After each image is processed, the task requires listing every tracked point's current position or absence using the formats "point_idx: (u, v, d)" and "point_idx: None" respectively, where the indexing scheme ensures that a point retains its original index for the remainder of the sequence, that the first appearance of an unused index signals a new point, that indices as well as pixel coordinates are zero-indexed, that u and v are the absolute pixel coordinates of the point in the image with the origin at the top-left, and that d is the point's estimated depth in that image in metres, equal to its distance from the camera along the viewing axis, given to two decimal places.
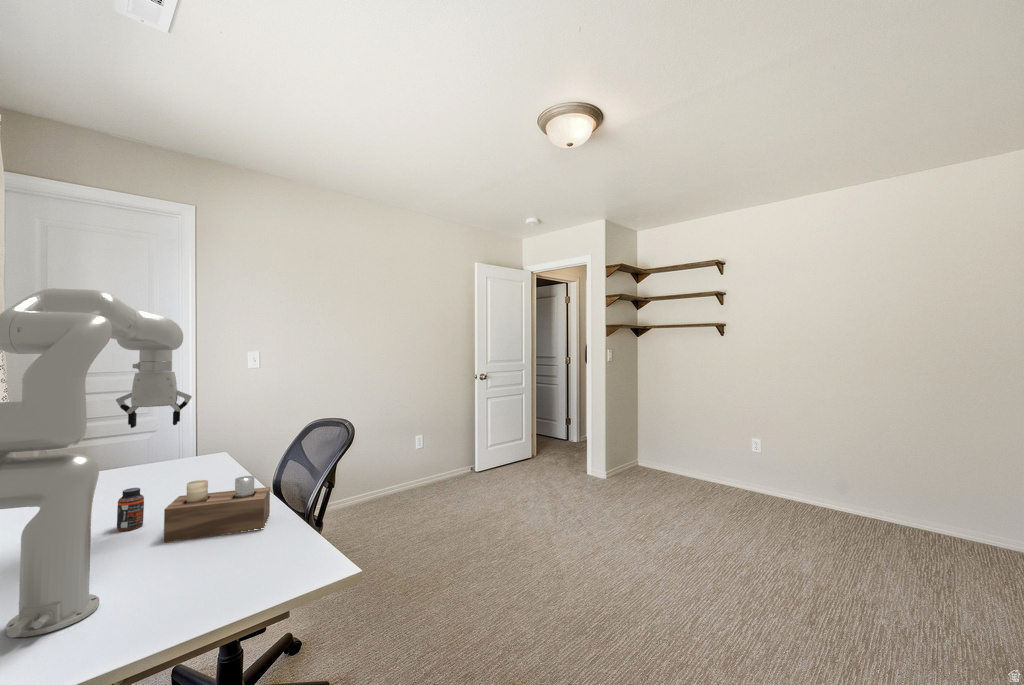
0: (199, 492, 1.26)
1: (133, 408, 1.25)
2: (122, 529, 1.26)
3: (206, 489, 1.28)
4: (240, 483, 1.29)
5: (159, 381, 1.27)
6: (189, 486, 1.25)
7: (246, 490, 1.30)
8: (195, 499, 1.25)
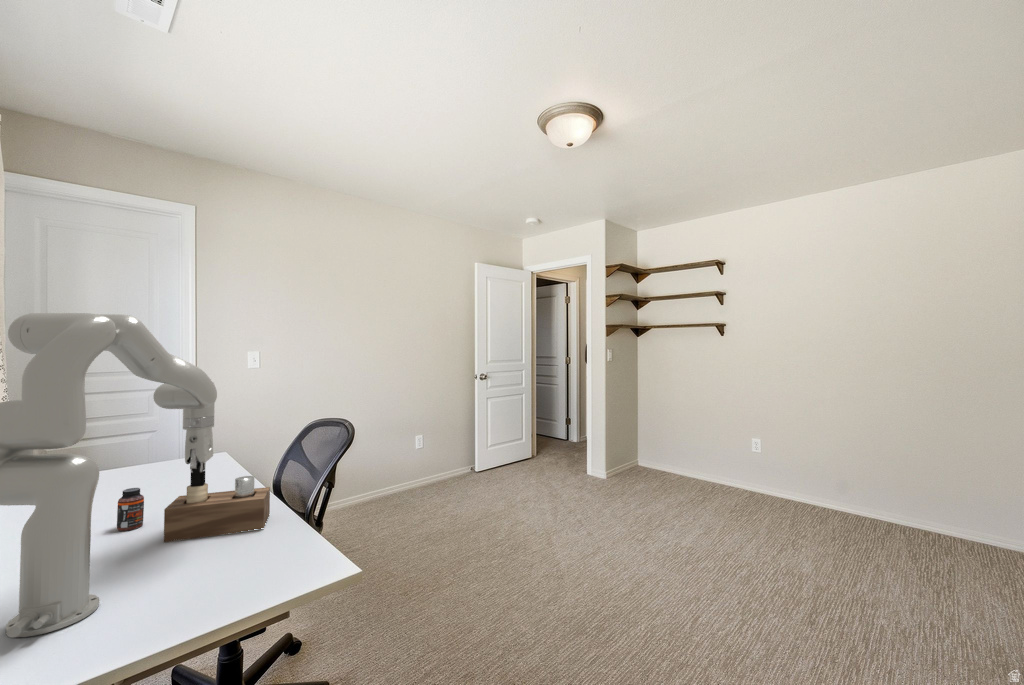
0: (199, 495, 1.26)
1: (202, 465, 1.27)
2: (122, 529, 1.26)
3: (206, 492, 1.28)
4: (240, 483, 1.29)
5: (211, 434, 1.30)
6: (189, 489, 1.25)
7: (246, 490, 1.30)
8: (195, 502, 1.25)
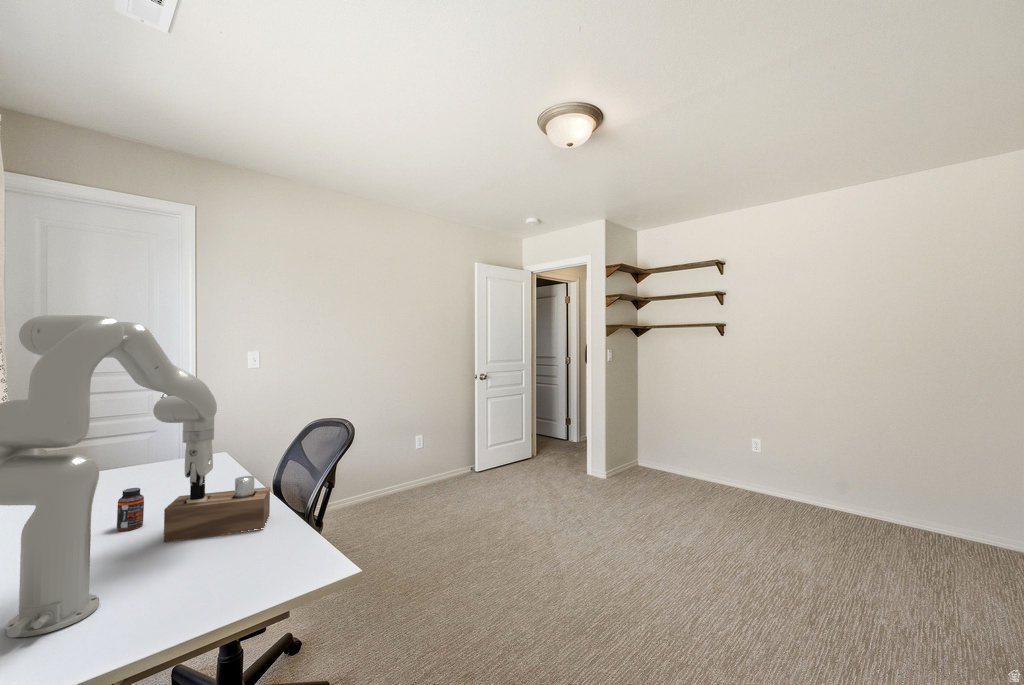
0: None
1: (202, 479, 1.27)
2: (122, 529, 1.26)
3: None
4: (240, 483, 1.29)
5: (210, 447, 1.30)
6: None
7: (246, 490, 1.30)
8: None
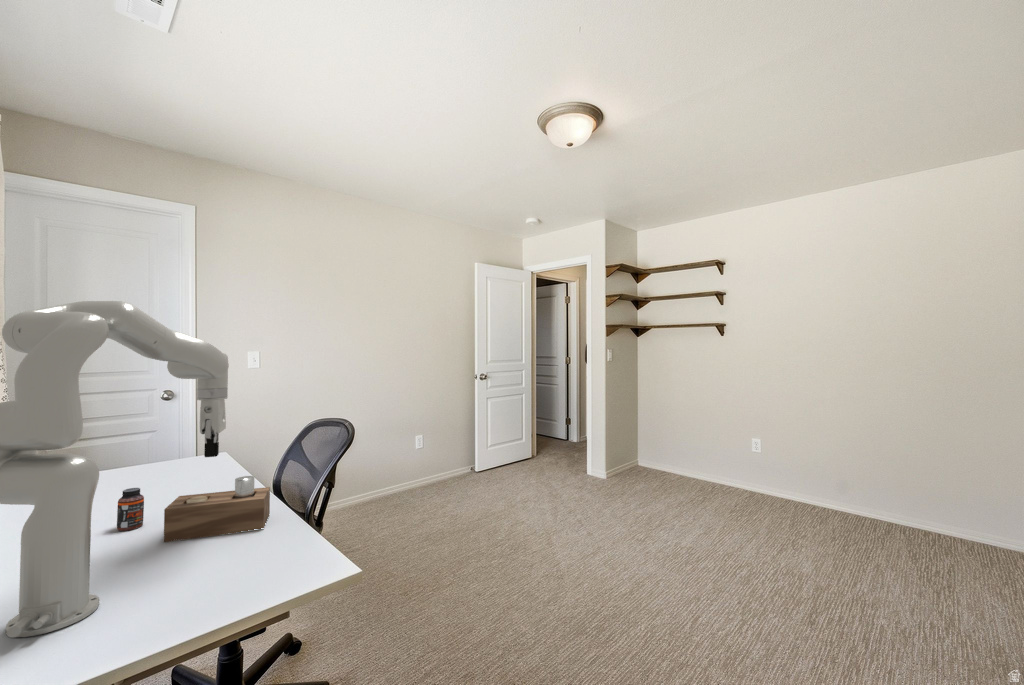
0: None
1: (216, 436, 1.29)
2: (122, 529, 1.26)
3: None
4: (240, 483, 1.29)
5: (224, 406, 1.32)
6: None
7: (246, 490, 1.30)
8: None
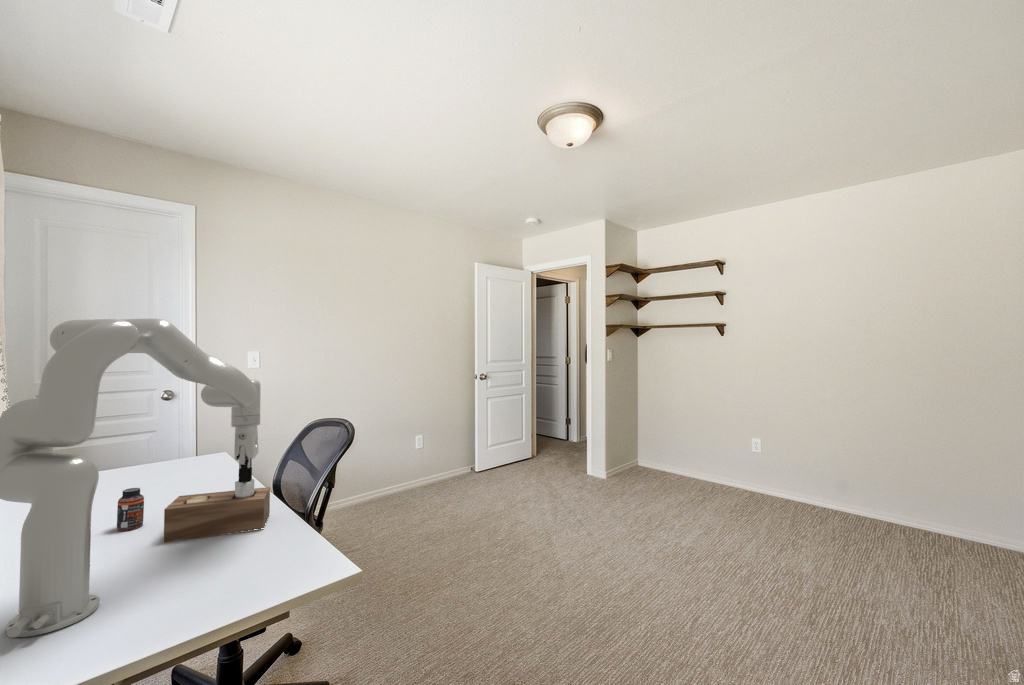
0: None
1: (249, 462, 1.32)
2: (122, 529, 1.26)
3: None
4: (240, 486, 1.29)
5: (257, 432, 1.35)
6: None
7: (246, 493, 1.30)
8: None
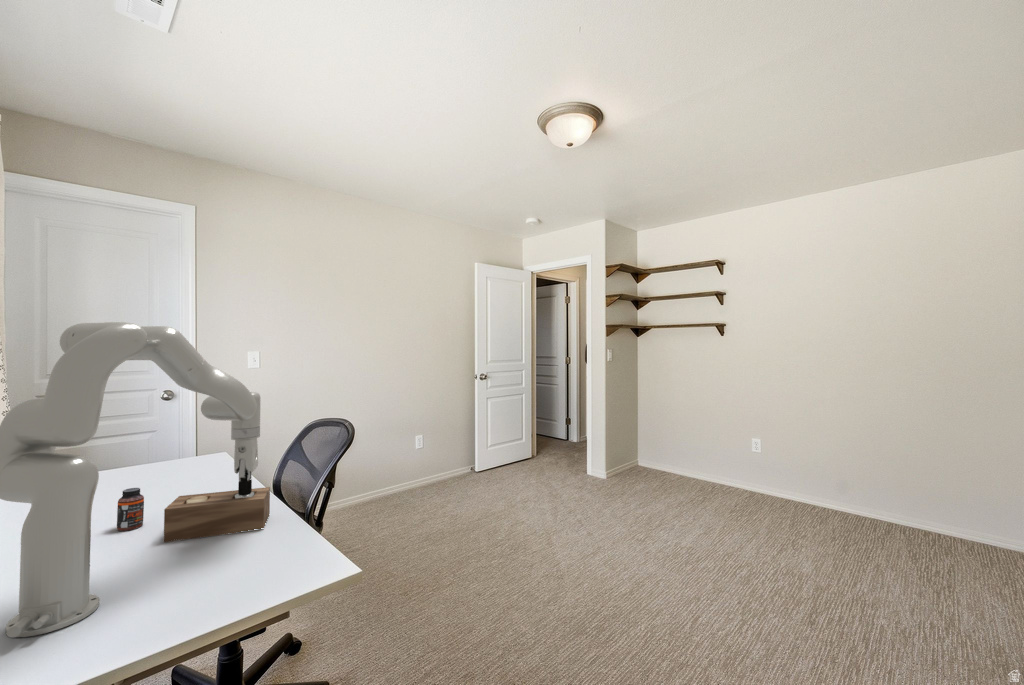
0: None
1: (249, 474, 1.31)
2: (122, 529, 1.26)
3: None
4: None
5: (256, 444, 1.35)
6: None
7: None
8: None
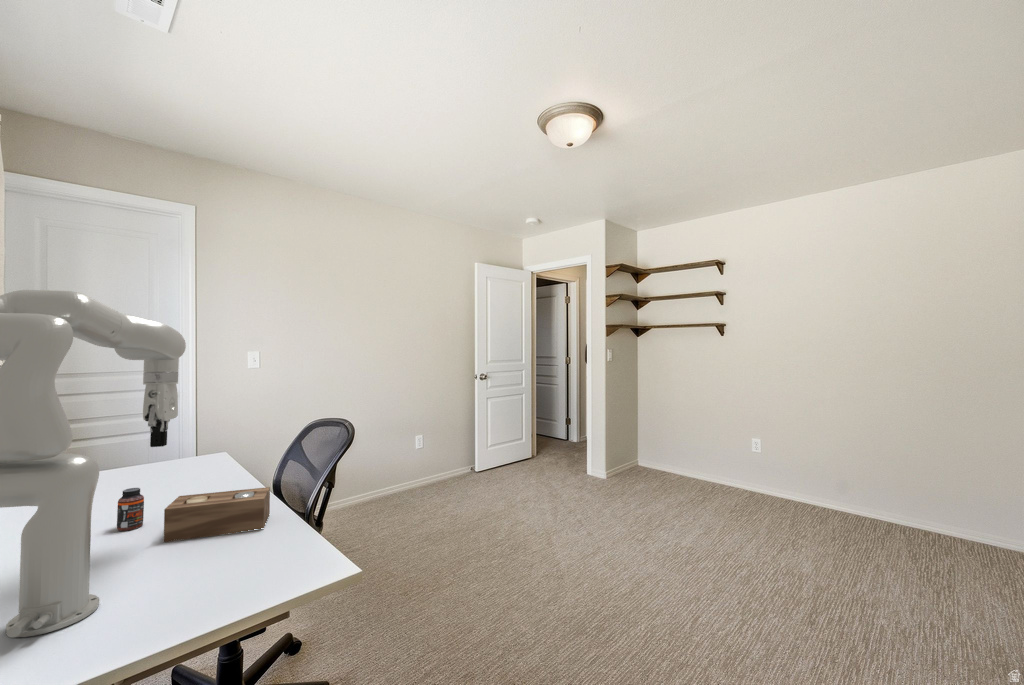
0: None
1: (163, 424, 1.18)
2: (122, 529, 1.26)
3: None
4: None
5: (174, 392, 1.22)
6: None
7: None
8: None
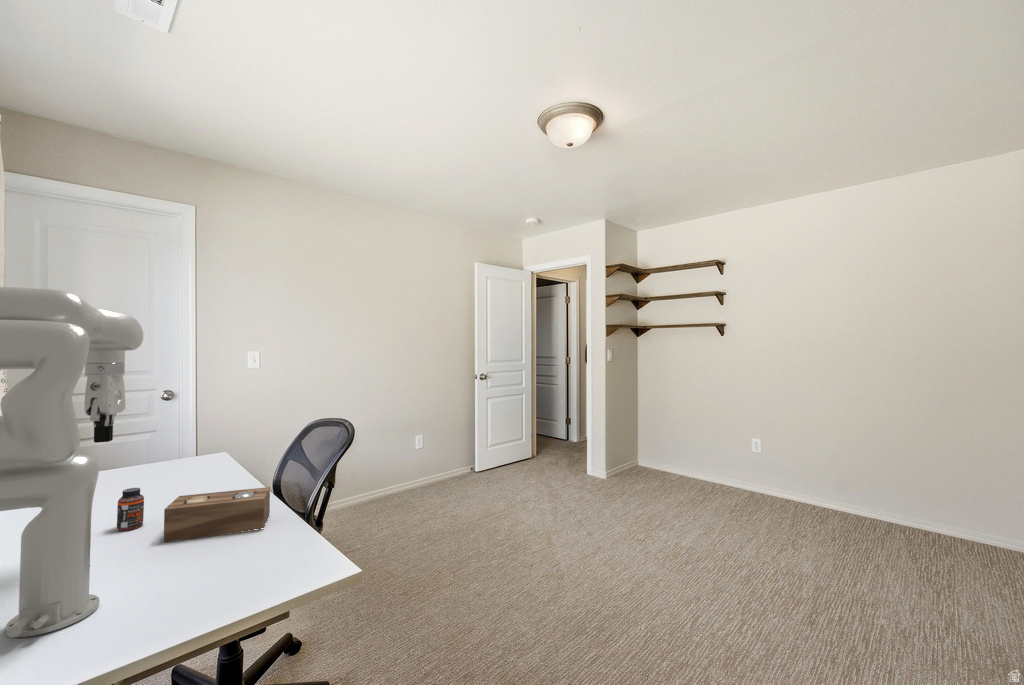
0: None
1: (108, 418, 1.11)
2: (122, 529, 1.26)
3: None
4: None
5: (120, 385, 1.15)
6: None
7: None
8: None
